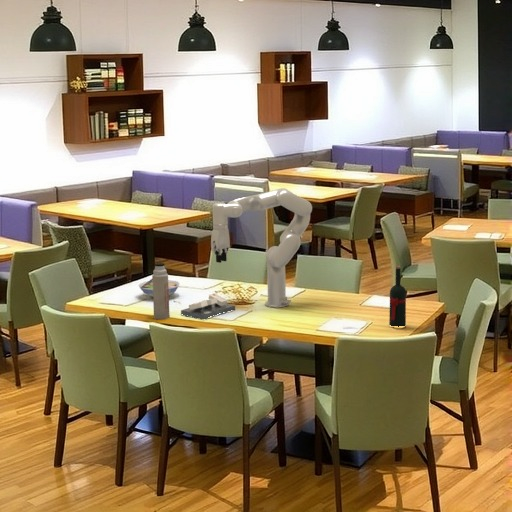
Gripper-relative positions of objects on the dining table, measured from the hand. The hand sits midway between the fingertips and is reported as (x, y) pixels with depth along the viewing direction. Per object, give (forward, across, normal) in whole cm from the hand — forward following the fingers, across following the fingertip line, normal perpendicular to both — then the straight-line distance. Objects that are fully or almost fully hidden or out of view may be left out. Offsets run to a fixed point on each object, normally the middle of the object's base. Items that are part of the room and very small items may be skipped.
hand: (221, 261), depth 497 cm
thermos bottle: (+25, +32, -13) cm, 43 cm away
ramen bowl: (+25, +2, -45) cm, 52 cm away
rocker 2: (+21, +11, 0) cm, 24 cm away
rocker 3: (+21, +3, 0) cm, 21 cm away
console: (+25, +11, 0) cm, 28 cm away
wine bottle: (+25, -22, +93) cm, 99 cm away
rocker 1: (+21, +19, 0) cm, 28 cm away
